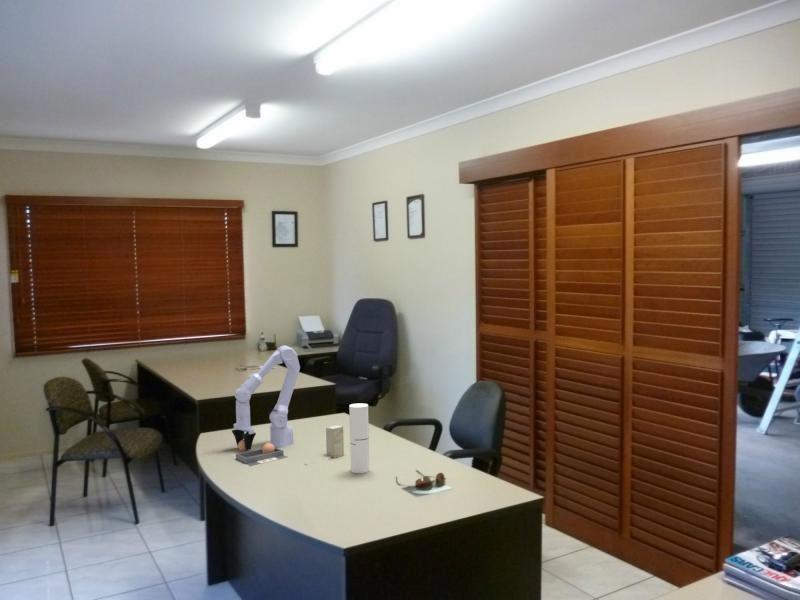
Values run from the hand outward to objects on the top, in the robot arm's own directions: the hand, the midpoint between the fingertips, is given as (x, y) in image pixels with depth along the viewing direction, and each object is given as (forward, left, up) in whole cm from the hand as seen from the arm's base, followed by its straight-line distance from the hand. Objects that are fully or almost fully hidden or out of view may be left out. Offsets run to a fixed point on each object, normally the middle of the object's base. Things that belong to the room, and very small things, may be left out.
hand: (244, 447), depth 272 cm
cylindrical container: (-20, +55, -2) cm, 59 cm away
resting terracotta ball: (-3, +16, -1) cm, 16 cm away
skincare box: (-24, +33, -2) cm, 41 cm away
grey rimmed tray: (+1, +17, -2) cm, 17 cm away
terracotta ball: (0, 0, -2) cm, 2 cm away
